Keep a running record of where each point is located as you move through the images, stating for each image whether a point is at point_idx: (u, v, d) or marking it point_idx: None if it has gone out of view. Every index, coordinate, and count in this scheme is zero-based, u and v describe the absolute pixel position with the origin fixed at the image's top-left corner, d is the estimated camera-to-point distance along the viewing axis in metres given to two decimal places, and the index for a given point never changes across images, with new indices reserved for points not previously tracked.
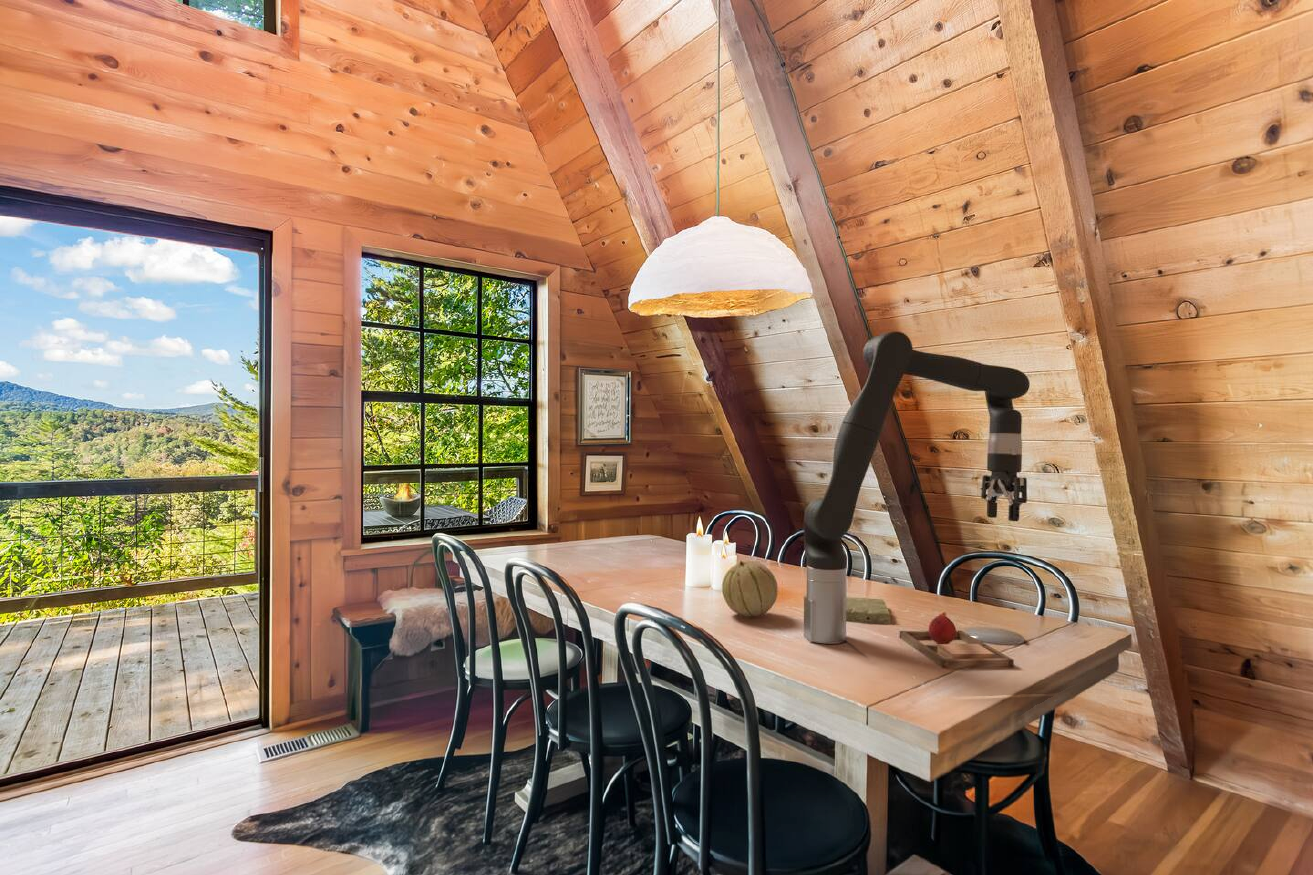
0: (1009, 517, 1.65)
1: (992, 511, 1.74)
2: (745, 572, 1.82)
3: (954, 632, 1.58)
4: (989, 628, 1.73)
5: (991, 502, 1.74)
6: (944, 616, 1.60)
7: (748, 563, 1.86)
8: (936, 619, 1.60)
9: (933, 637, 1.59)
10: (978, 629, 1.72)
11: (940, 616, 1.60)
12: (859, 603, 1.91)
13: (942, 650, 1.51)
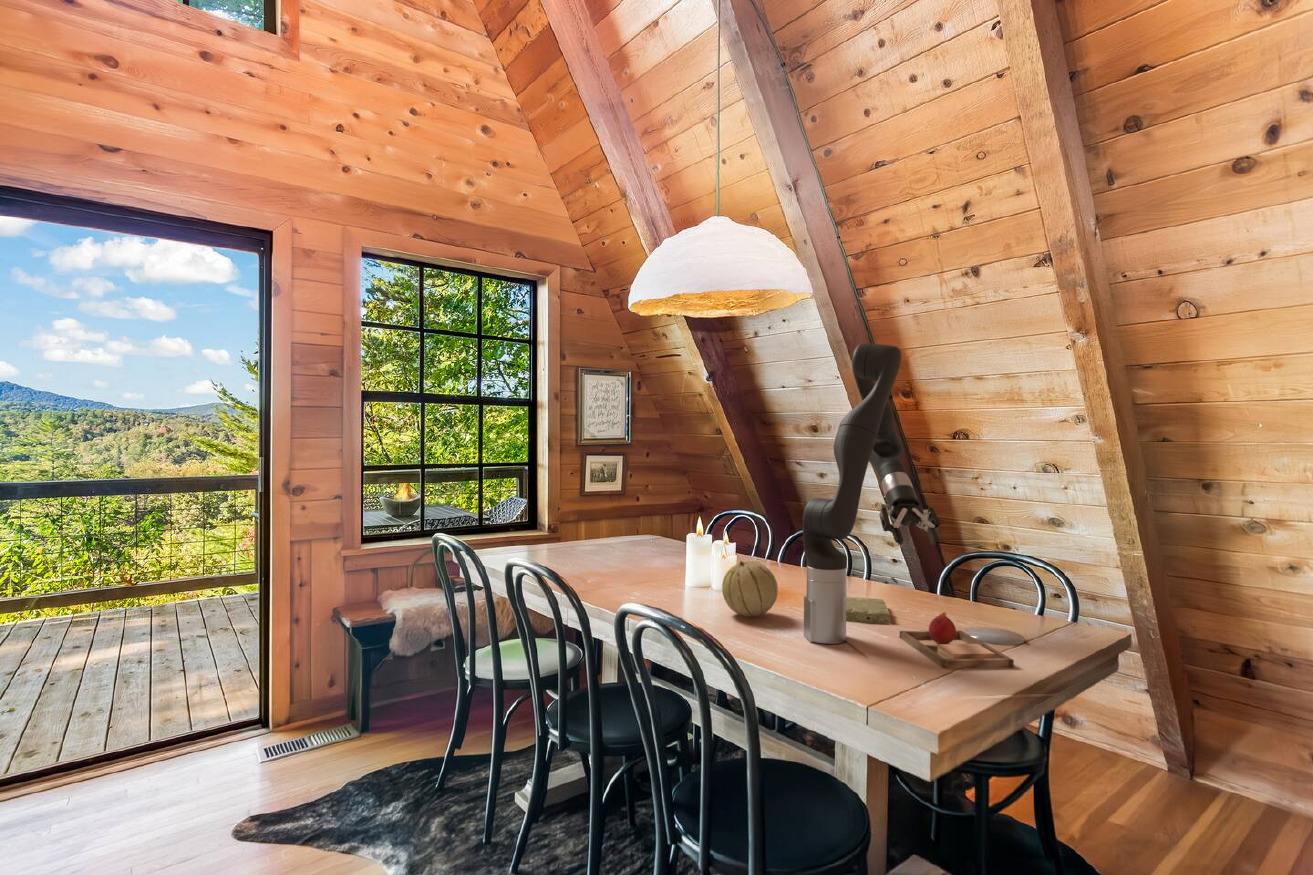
0: (935, 537, 1.74)
1: None
2: (745, 572, 1.82)
3: (954, 632, 1.58)
4: (989, 628, 1.73)
5: None
6: (944, 616, 1.60)
7: (748, 563, 1.86)
8: (936, 619, 1.60)
9: (933, 637, 1.59)
10: (978, 629, 1.72)
11: (940, 616, 1.60)
12: (859, 603, 1.91)
13: (942, 650, 1.51)
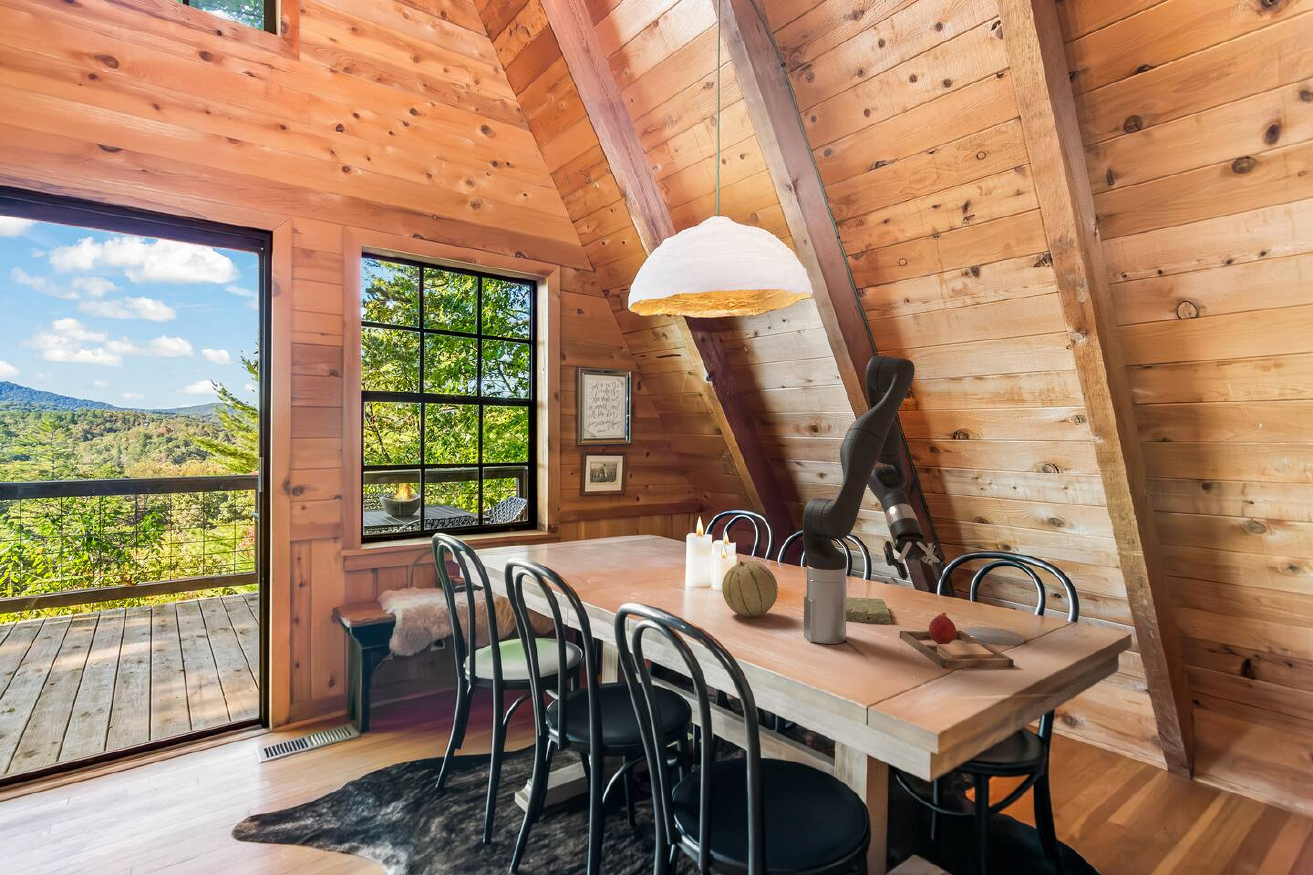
0: (940, 573, 1.71)
1: None
2: (745, 572, 1.82)
3: (954, 632, 1.58)
4: (989, 628, 1.73)
5: None
6: (944, 616, 1.60)
7: (748, 563, 1.86)
8: (936, 619, 1.60)
9: (933, 637, 1.59)
10: (978, 629, 1.72)
11: (940, 616, 1.60)
12: (859, 603, 1.91)
13: (941, 650, 1.51)
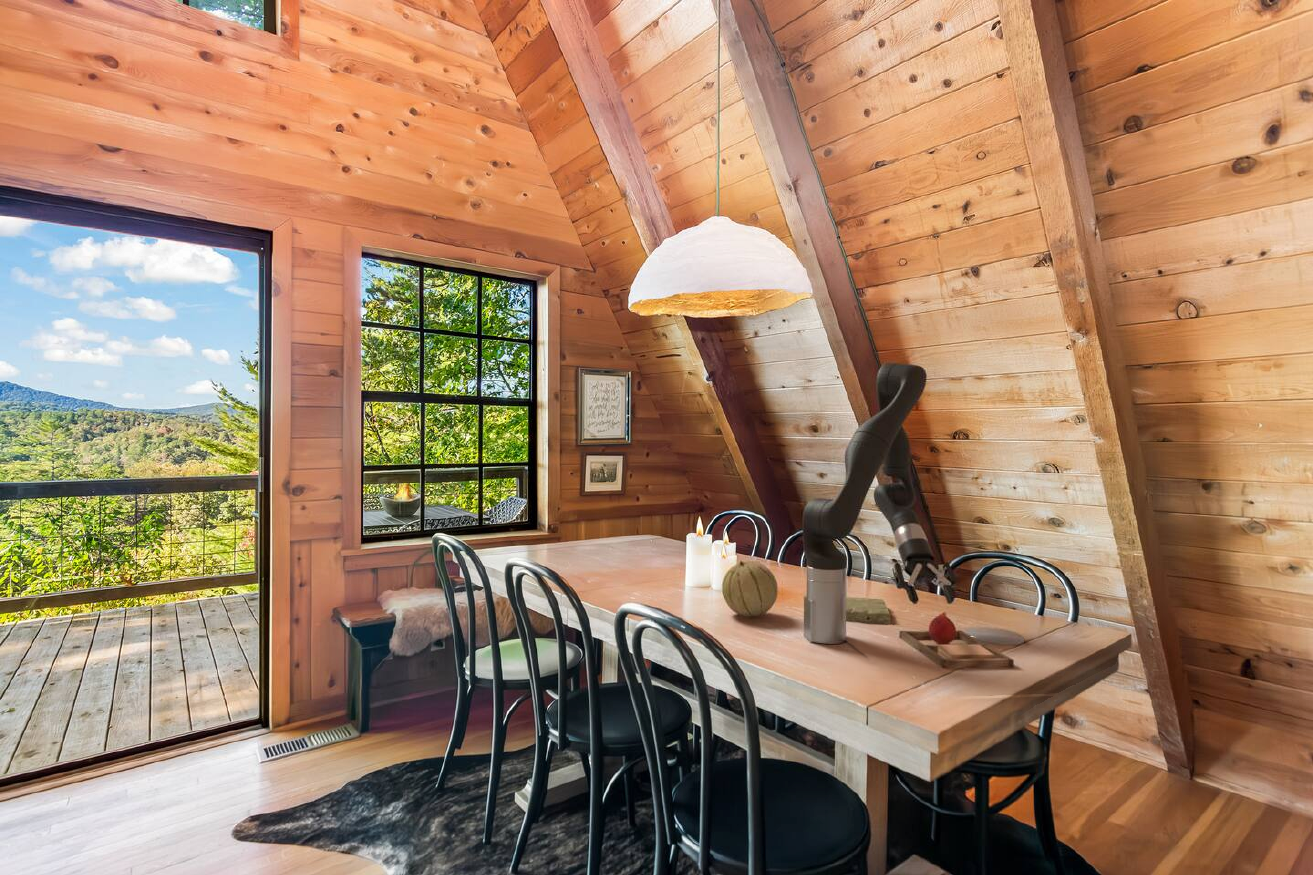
0: (951, 596, 1.65)
1: None
2: (745, 572, 1.82)
3: (954, 632, 1.58)
4: (989, 628, 1.73)
5: None
6: (944, 616, 1.60)
7: (748, 563, 1.86)
8: (936, 619, 1.60)
9: (933, 637, 1.59)
10: (978, 629, 1.72)
11: (940, 616, 1.60)
12: (859, 603, 1.91)
13: (942, 650, 1.51)
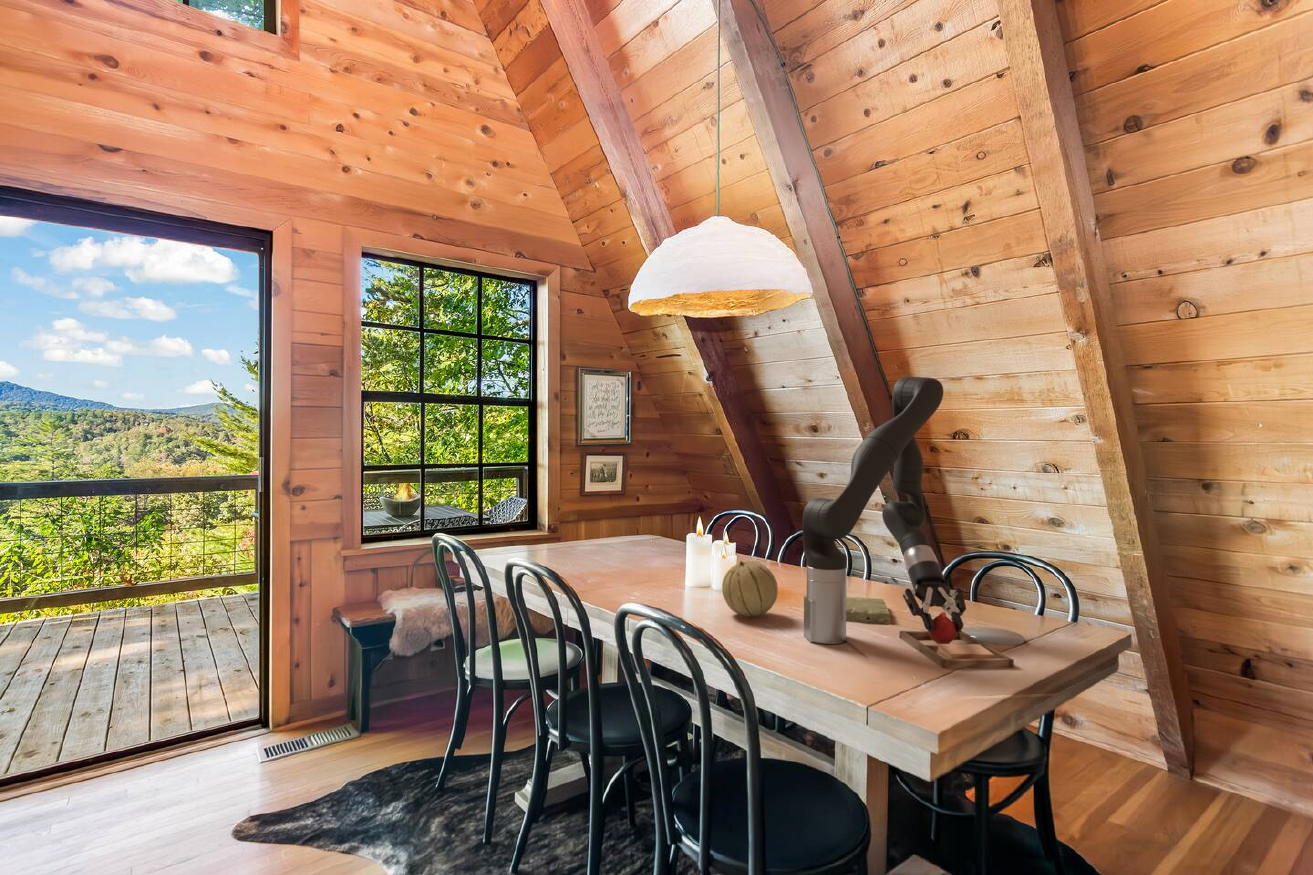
0: (960, 624, 1.59)
1: None
2: (745, 572, 1.82)
3: (954, 632, 1.58)
4: (989, 628, 1.73)
5: None
6: (944, 616, 1.60)
7: (748, 563, 1.86)
8: (936, 619, 1.60)
9: (933, 637, 1.59)
10: (978, 629, 1.72)
11: (940, 616, 1.60)
12: (859, 603, 1.91)
13: (942, 650, 1.51)
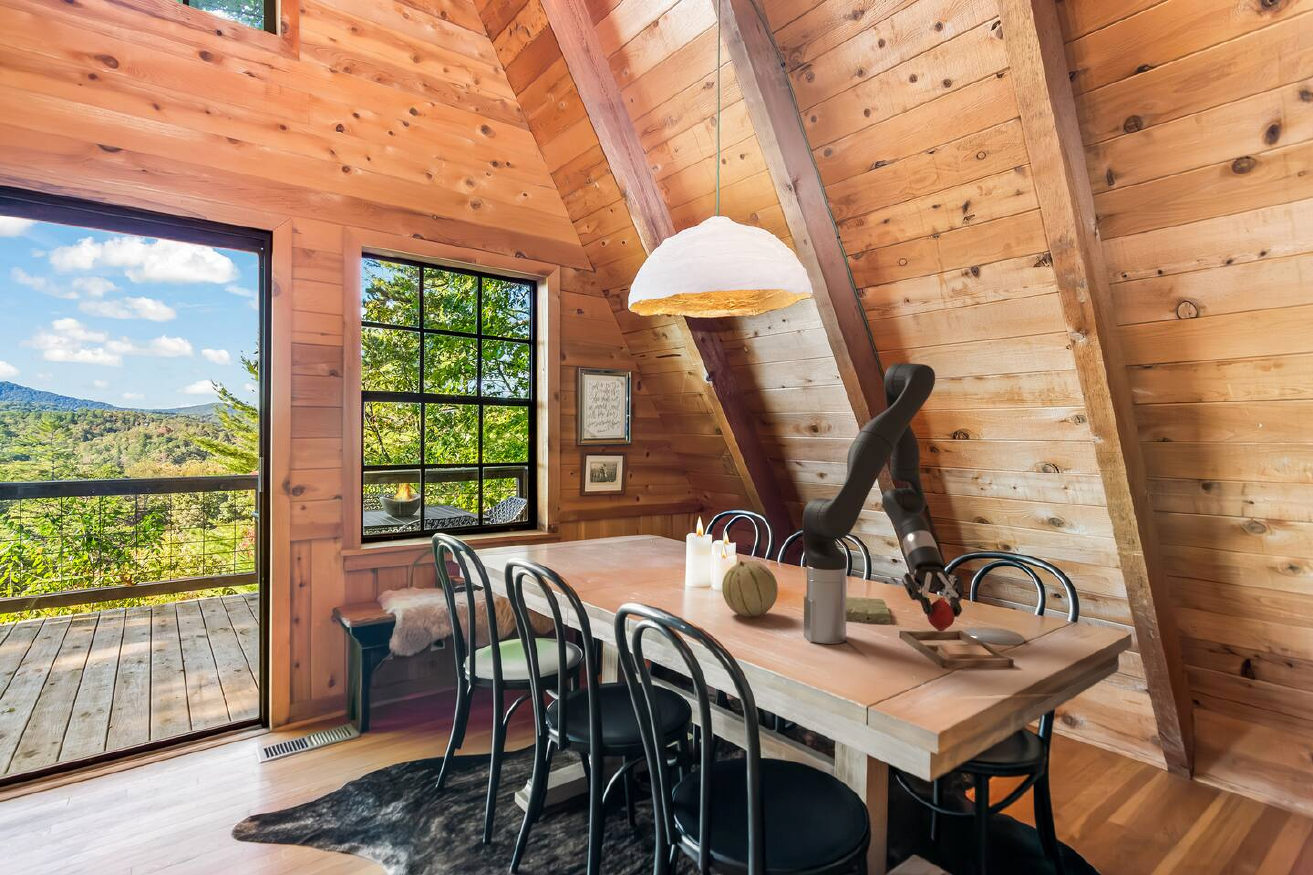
0: (958, 609, 1.59)
1: None
2: (745, 572, 1.82)
3: (952, 617, 1.58)
4: (989, 628, 1.73)
5: None
6: (943, 601, 1.60)
7: (748, 563, 1.86)
8: (935, 604, 1.60)
9: (931, 621, 1.60)
10: (978, 629, 1.72)
11: (939, 601, 1.60)
12: (859, 603, 1.91)
13: (941, 650, 1.52)
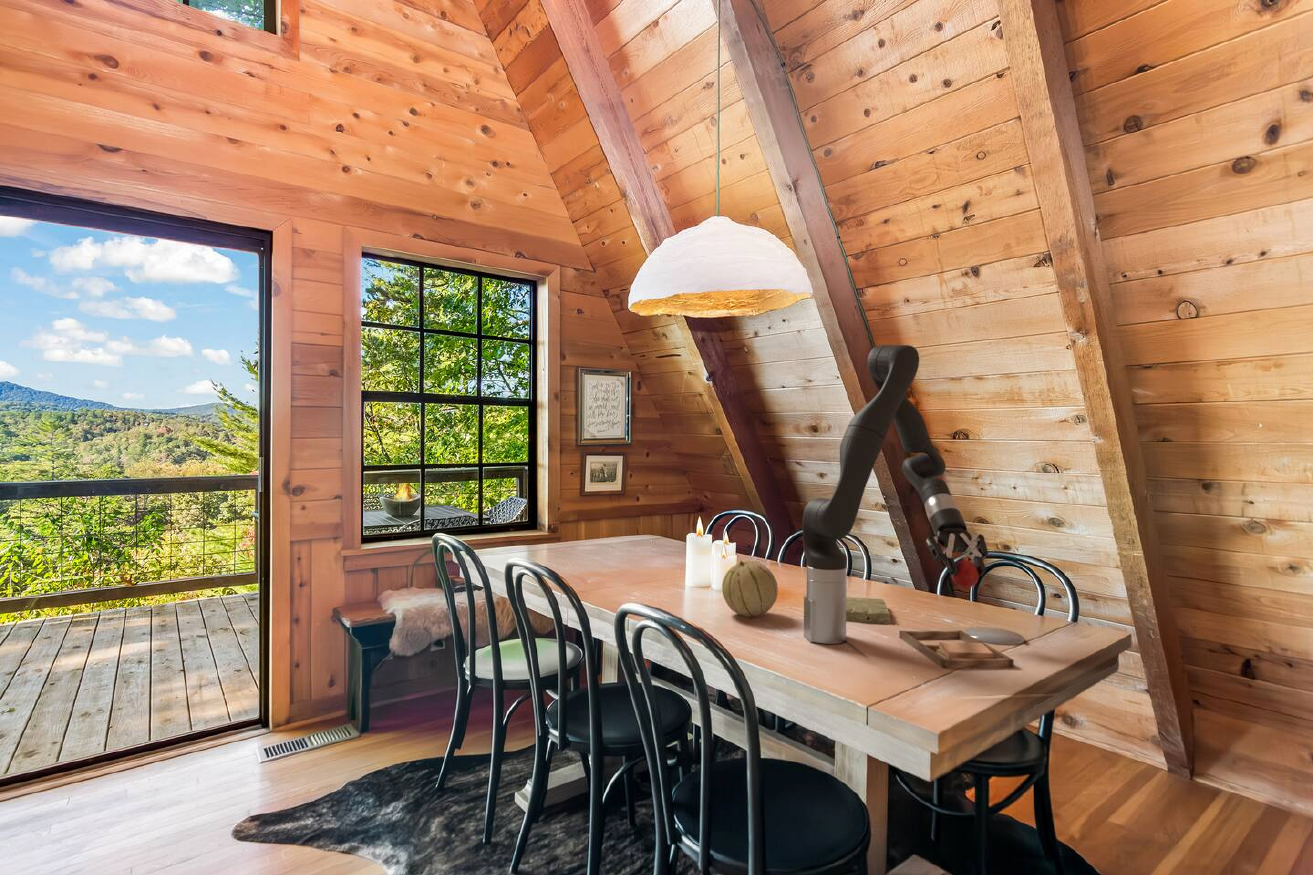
0: (983, 568, 1.62)
1: None
2: (745, 572, 1.82)
3: (977, 575, 1.61)
4: (989, 628, 1.73)
5: None
6: (967, 560, 1.63)
7: (748, 563, 1.86)
8: (959, 563, 1.63)
9: (956, 581, 1.63)
10: (978, 629, 1.72)
11: (963, 560, 1.63)
12: (859, 603, 1.91)
13: (942, 648, 1.52)
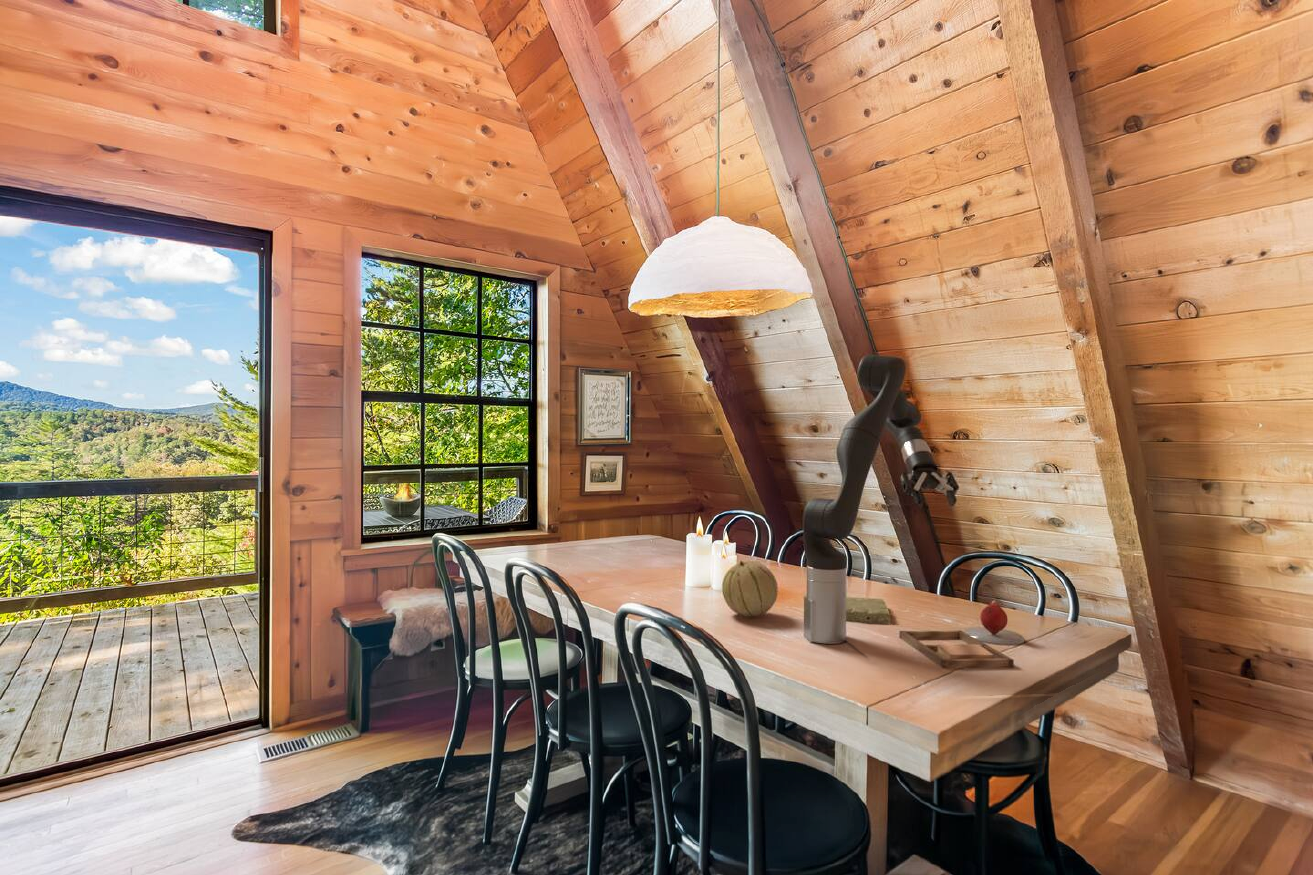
0: (953, 499, 1.83)
1: None
2: (745, 572, 1.82)
3: (1006, 620, 1.66)
4: None
5: None
6: (996, 605, 1.67)
7: (748, 563, 1.86)
8: (988, 608, 1.67)
9: (986, 625, 1.67)
10: (978, 629, 1.72)
11: (992, 605, 1.67)
12: (859, 603, 1.91)
13: (941, 650, 1.51)
